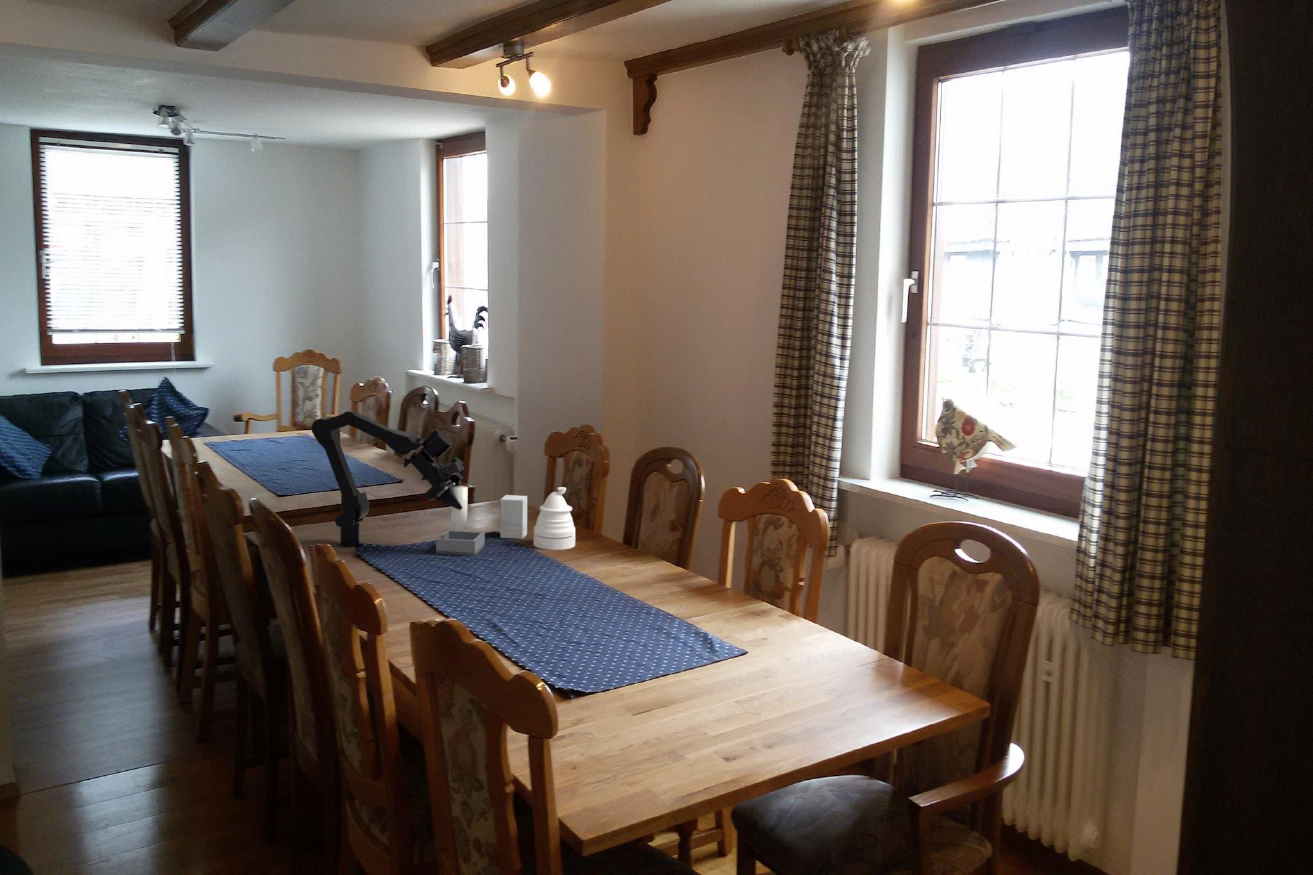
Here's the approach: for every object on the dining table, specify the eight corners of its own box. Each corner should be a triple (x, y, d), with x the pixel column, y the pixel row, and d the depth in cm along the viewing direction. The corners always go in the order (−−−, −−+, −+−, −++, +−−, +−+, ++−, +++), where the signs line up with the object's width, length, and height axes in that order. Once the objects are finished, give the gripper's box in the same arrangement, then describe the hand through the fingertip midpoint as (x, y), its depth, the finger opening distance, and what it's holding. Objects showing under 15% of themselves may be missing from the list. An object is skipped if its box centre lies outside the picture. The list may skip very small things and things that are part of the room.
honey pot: (578, 541, 331) (579, 485, 329) (571, 551, 319) (572, 492, 316) (538, 538, 333) (539, 482, 330) (529, 548, 320) (530, 490, 318)
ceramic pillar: (448, 529, 311) (448, 487, 310) (457, 526, 315) (458, 485, 314) (460, 531, 309) (461, 489, 307) (470, 528, 313) (470, 487, 311)
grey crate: (436, 553, 309) (436, 538, 309) (447, 544, 321) (447, 530, 320) (474, 556, 308) (475, 541, 308) (484, 546, 320) (484, 532, 319)
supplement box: (527, 534, 338) (528, 495, 337) (522, 539, 331) (523, 500, 329) (505, 532, 339) (505, 494, 337) (499, 538, 332) (500, 498, 330)
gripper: (436, 455, 300) (473, 495, 301) (457, 445, 319) (491, 484, 319) (410, 480, 302) (446, 520, 303) (431, 470, 321) (466, 507, 321)
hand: (463, 507), depth 311 cm, fingers closed on ceramic pillar, 5 cm apart
